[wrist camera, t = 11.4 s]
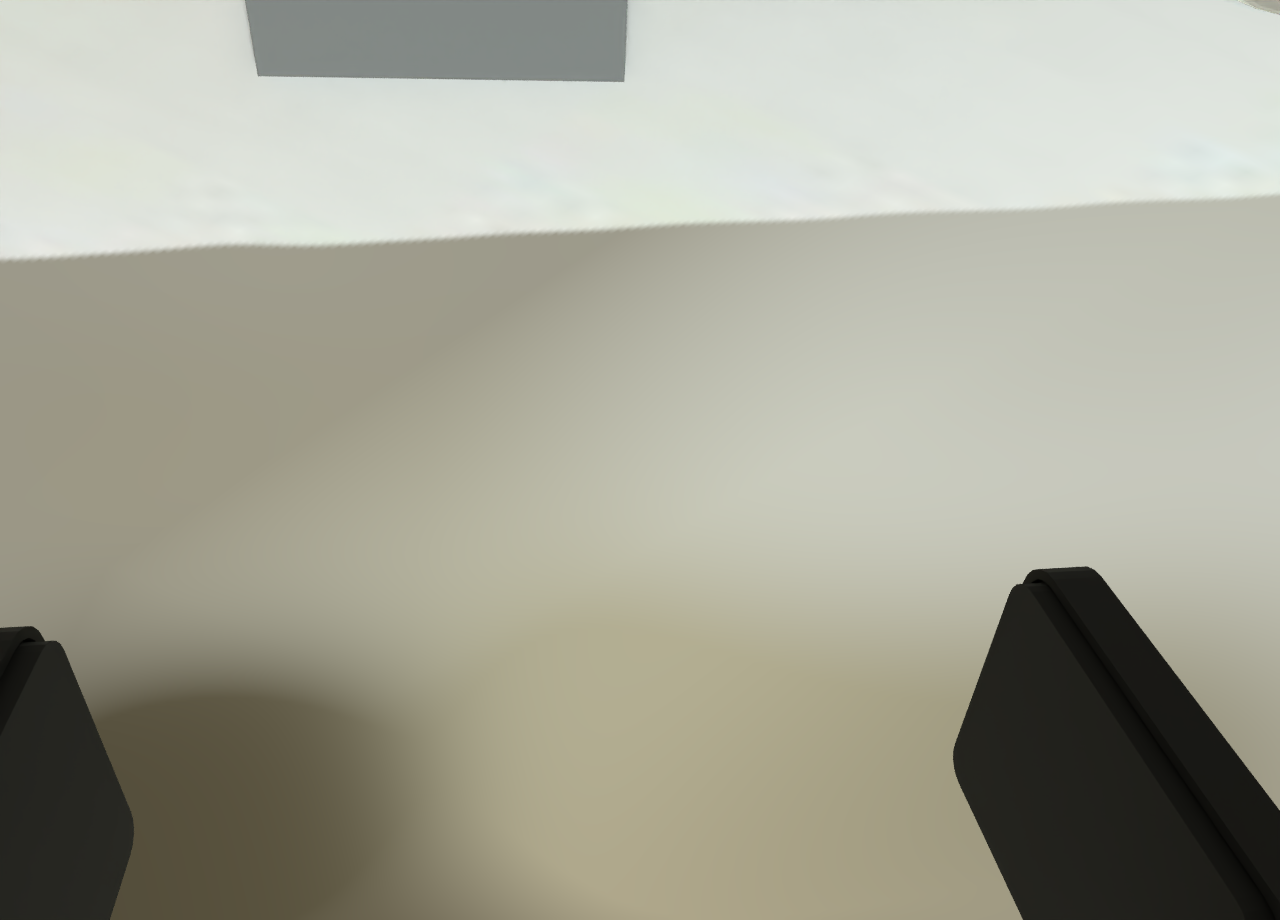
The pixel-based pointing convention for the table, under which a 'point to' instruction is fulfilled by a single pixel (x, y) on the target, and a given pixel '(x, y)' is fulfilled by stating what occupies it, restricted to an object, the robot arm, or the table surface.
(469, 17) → the mat
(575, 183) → the table surface
